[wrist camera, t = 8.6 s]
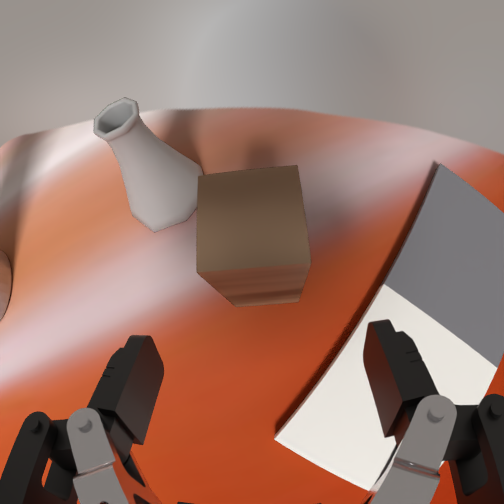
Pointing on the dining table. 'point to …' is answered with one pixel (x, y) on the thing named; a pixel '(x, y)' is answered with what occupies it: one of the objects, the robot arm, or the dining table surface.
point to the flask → (149, 167)
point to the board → (415, 330)
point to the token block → (253, 235)
